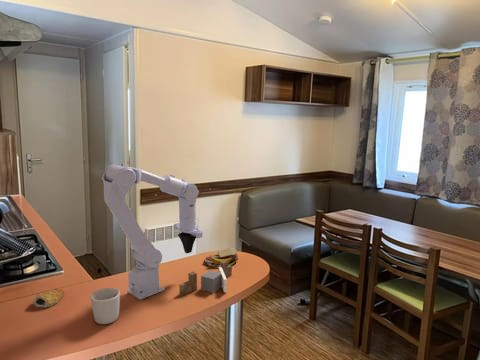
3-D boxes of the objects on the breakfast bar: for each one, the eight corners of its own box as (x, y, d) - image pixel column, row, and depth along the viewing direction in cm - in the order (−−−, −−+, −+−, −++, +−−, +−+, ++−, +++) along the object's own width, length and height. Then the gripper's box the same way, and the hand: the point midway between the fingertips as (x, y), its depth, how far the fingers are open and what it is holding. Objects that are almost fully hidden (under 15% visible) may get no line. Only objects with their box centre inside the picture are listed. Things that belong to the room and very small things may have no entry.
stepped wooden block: (182, 295, 121) (182, 278, 120) (178, 293, 123) (178, 276, 122) (232, 275, 137) (232, 260, 136) (228, 273, 138) (228, 258, 137)
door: (226, 292, 123) (226, 278, 123) (223, 292, 123) (223, 278, 122) (221, 277, 134) (221, 264, 134) (218, 277, 134) (218, 264, 133)
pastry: (52, 293, 123) (51, 282, 123) (70, 295, 122) (69, 284, 121) (30, 307, 114) (29, 295, 114) (49, 310, 113) (48, 298, 112)
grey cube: (213, 293, 124) (213, 279, 123) (201, 289, 126) (200, 275, 125) (221, 287, 128) (221, 273, 127) (209, 283, 130) (209, 270, 129)
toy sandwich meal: (204, 257, 155) (204, 246, 154) (237, 256, 156) (237, 245, 155) (204, 269, 143) (204, 257, 142) (239, 268, 144) (239, 256, 143)
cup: (83, 315, 109) (81, 290, 108) (109, 306, 115) (108, 281, 113) (99, 330, 102) (97, 303, 100) (126, 319, 107) (125, 294, 106)
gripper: (209, 217, 129) (209, 255, 131) (184, 209, 139) (185, 244, 142) (192, 221, 124) (193, 260, 126) (168, 213, 134) (169, 249, 137)
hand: (188, 252), depth 134 cm, fingers closed
